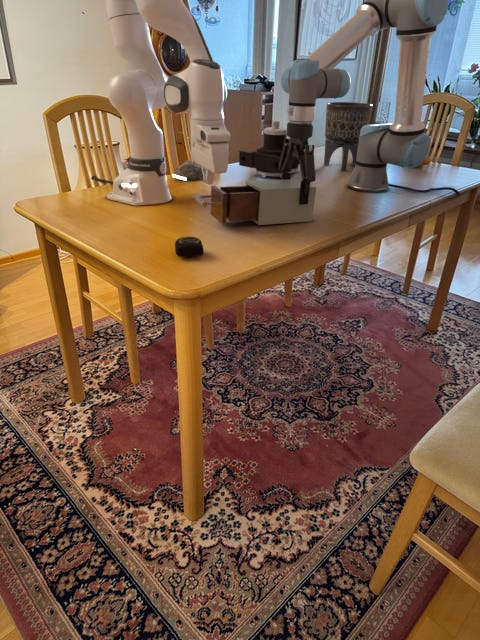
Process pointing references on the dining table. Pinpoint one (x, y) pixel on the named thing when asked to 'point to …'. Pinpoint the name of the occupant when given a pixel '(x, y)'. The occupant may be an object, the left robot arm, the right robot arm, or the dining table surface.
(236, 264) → the dining table surface
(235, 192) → the drawer
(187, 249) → the tape measure
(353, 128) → the planter
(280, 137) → the mechanical component
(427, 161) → the toy
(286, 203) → the cabinet
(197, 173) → the rock
